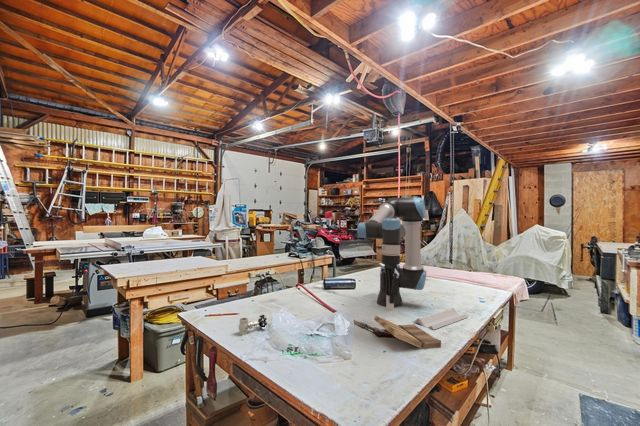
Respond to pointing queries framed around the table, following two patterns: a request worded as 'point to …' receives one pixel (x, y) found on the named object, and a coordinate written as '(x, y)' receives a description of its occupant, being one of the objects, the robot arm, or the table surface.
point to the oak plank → (398, 331)
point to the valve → (250, 324)
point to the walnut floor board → (421, 336)
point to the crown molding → (440, 319)
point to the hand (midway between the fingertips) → (389, 310)
